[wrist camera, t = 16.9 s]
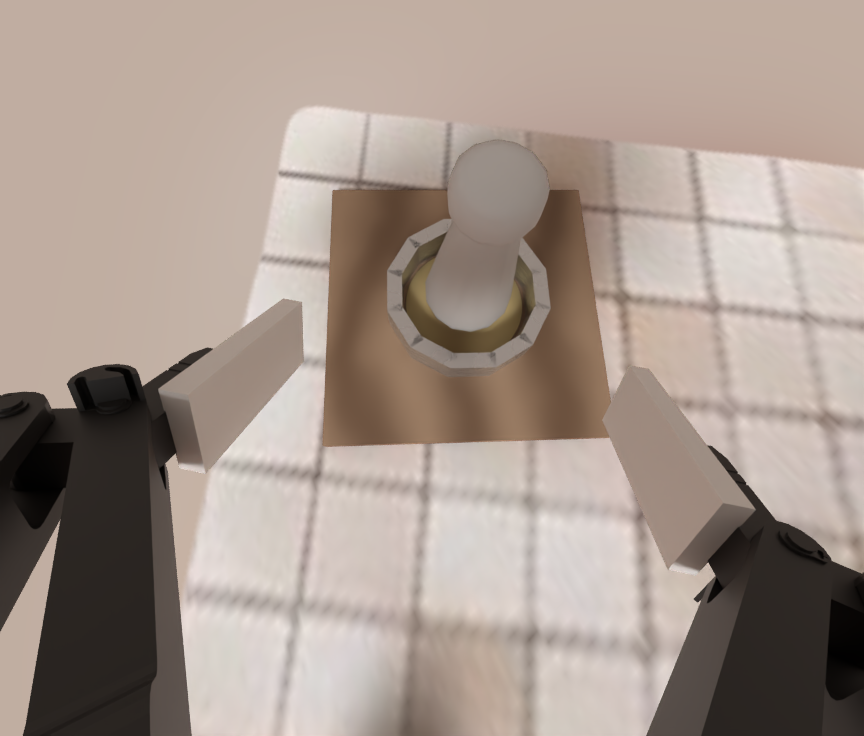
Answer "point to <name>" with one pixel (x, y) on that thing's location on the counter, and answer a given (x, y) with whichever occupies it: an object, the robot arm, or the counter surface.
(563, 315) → the collar board
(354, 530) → the counter surface
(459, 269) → the salt shaker
